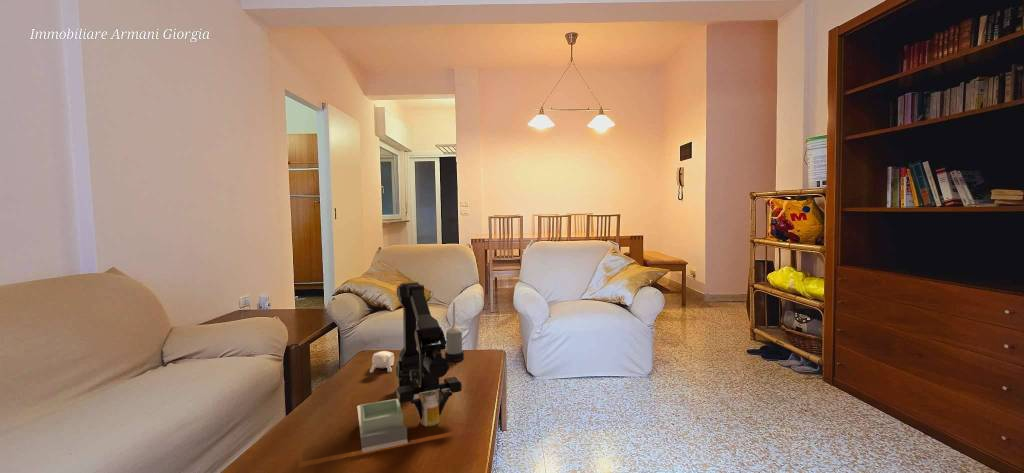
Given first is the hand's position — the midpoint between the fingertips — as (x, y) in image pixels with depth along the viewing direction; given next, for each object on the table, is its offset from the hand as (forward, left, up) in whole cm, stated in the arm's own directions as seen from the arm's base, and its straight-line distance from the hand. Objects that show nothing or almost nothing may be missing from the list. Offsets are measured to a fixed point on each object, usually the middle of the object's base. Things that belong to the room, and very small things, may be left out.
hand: (430, 416), depth 132 cm
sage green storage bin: (+14, -1, -2) cm, 14 cm away
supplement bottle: (0, 0, -3) cm, 3 cm away
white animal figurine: (+9, -53, -3) cm, 53 cm away
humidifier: (-22, -54, -3) cm, 58 cm away
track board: (+14, -6, -2) cm, 15 cm away
